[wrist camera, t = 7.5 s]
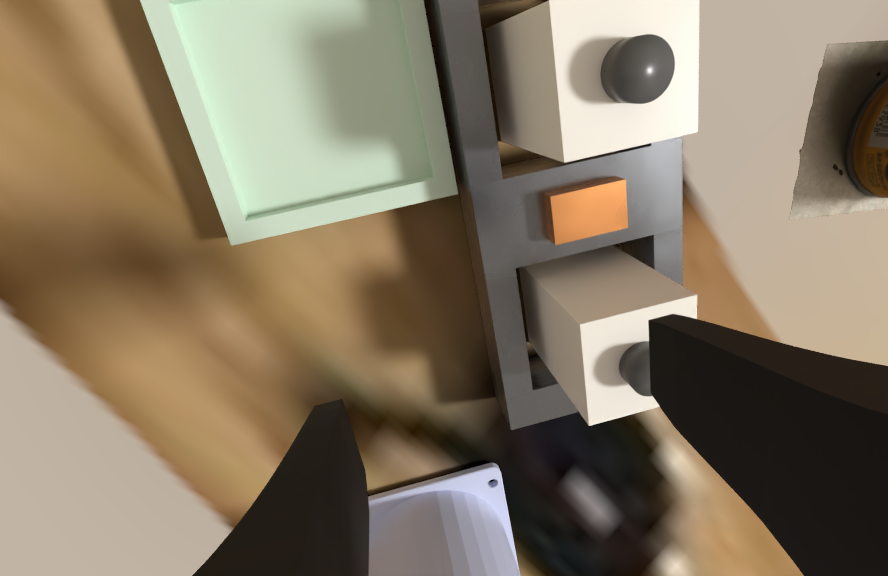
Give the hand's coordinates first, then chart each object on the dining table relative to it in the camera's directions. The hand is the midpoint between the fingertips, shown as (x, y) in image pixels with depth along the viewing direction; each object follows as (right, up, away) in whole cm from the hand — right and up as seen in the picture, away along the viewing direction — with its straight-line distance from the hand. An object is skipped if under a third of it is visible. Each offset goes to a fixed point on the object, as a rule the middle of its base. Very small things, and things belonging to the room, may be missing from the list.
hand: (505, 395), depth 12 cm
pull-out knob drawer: (+4, +2, +11) cm, 12 cm away
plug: (+2, +11, +8) cm, 13 cm away
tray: (-6, +9, +7) cm, 13 cm away
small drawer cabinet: (+3, +6, +10) cm, 12 cm away
